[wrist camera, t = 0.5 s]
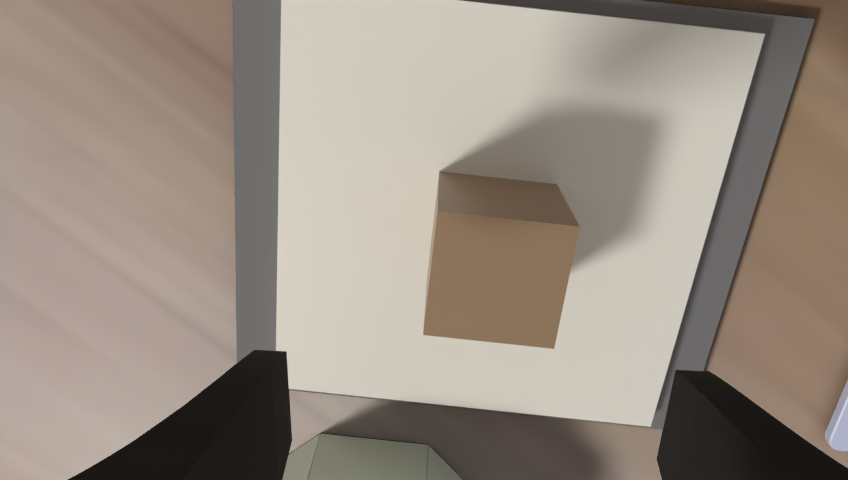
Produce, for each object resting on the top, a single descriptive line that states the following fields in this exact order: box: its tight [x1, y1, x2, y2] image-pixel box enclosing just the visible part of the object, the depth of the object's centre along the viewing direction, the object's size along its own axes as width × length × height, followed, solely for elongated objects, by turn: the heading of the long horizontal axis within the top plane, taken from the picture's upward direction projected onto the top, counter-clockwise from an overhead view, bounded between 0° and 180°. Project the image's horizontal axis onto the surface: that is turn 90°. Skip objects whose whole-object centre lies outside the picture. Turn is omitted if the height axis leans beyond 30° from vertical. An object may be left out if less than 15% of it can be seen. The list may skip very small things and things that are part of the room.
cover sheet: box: [276, 0, 765, 427], centre depth 18 cm, size 13×13×4 cm
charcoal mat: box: [233, 0, 815, 429], centre depth 20 cm, size 16×14×1 cm
